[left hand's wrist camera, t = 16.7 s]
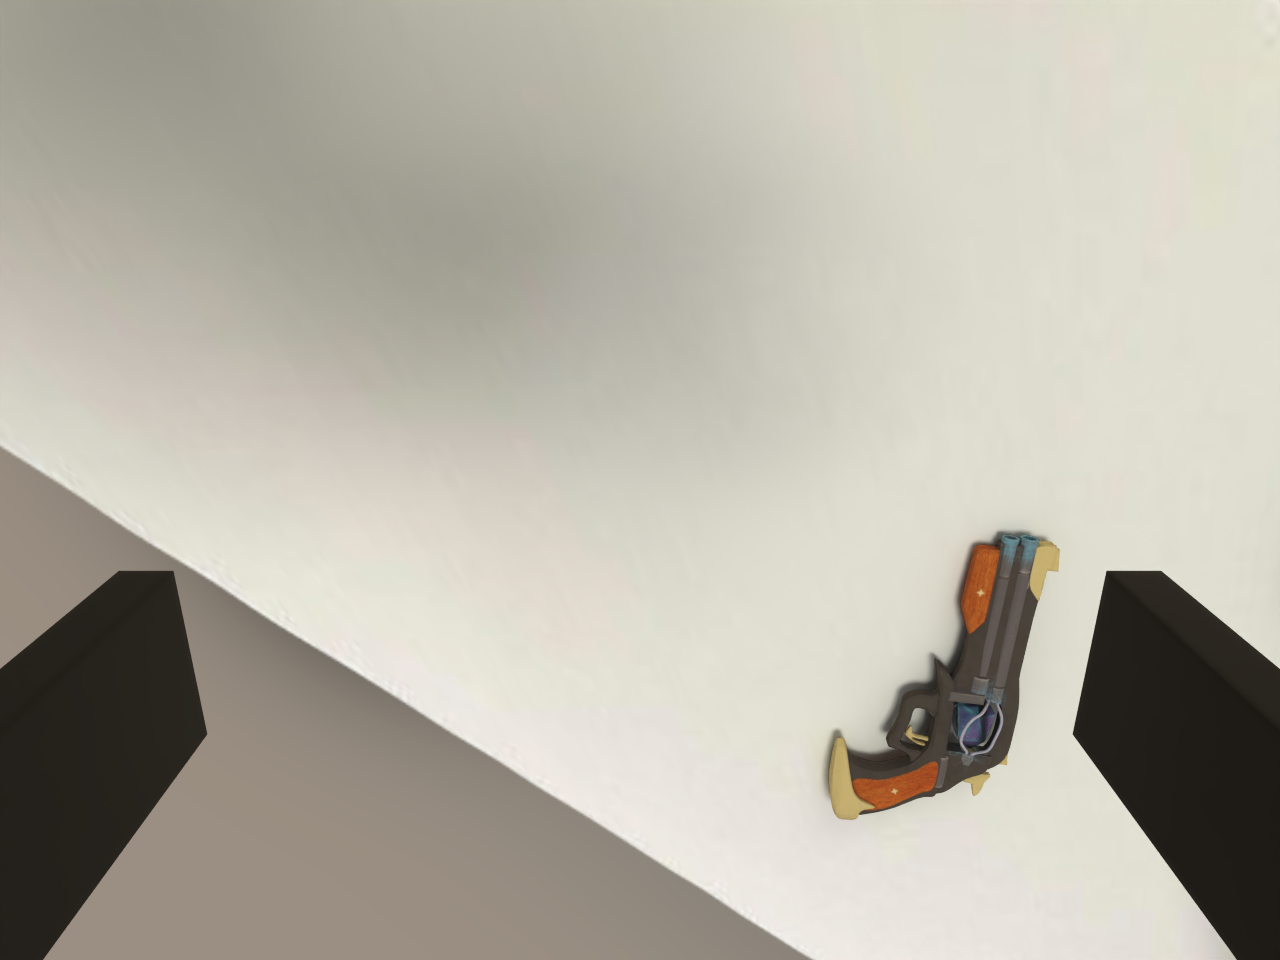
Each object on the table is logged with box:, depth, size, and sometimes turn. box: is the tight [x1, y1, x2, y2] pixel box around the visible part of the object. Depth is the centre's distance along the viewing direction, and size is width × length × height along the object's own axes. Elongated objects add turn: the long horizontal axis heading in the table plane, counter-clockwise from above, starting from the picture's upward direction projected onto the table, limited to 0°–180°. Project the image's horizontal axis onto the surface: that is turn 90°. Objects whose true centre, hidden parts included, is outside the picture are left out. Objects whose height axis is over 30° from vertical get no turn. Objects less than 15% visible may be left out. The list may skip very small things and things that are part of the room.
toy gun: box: [829, 534, 1060, 820], centre depth 51 cm, size 3×19×10 cm
